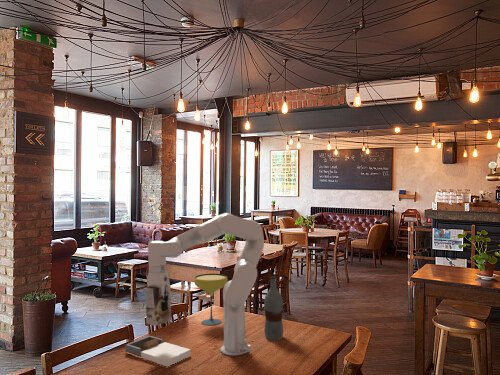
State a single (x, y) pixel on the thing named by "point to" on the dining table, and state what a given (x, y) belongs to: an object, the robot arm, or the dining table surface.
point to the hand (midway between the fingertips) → (159, 308)
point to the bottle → (273, 312)
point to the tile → (149, 344)
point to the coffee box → (156, 307)
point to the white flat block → (166, 354)
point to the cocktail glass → (211, 290)
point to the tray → (134, 346)
